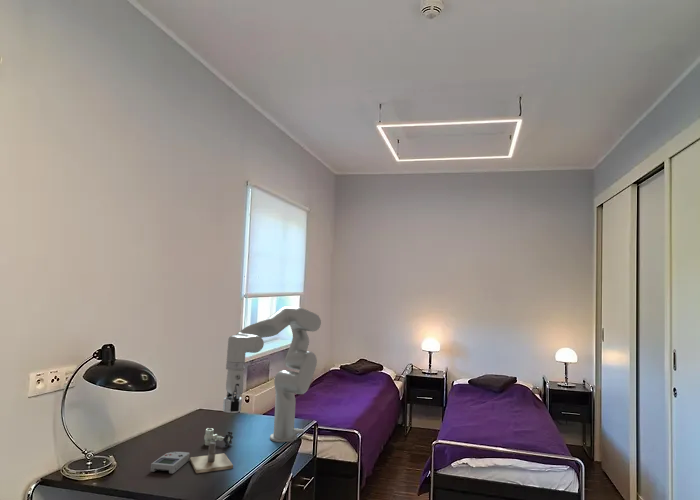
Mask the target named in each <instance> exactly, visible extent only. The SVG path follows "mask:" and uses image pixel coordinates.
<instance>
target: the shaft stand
mask: <svg viewBox="0 0 700 500" xmlns="http://www.w3.org/2000/svg"><path fill="white" fill-rule="evenodd" d="M216 444H217V443H216V441H213V442H211V443H209V446H208V453H207V455H199V456H191V457H190V456H189V462H190V464H191V466H192V468H193V470H194V471H195V474H200V473H201V474H202V473H208V472H214V471H215V472H216V471H222V470H230V469H233V468H234V464H233V463H232V461H231V460H230V459H229V458H228V456H227V454H225V453H216V446H217V445H216Z"/></svg>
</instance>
